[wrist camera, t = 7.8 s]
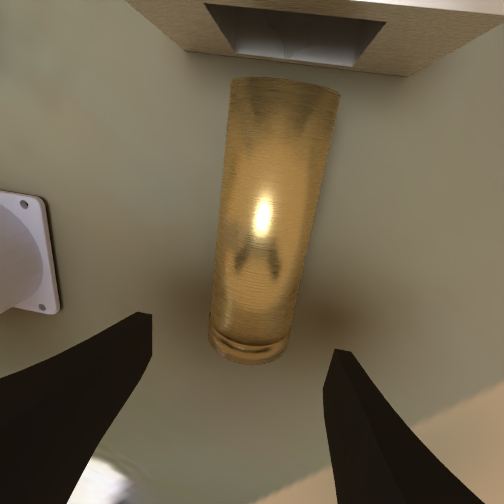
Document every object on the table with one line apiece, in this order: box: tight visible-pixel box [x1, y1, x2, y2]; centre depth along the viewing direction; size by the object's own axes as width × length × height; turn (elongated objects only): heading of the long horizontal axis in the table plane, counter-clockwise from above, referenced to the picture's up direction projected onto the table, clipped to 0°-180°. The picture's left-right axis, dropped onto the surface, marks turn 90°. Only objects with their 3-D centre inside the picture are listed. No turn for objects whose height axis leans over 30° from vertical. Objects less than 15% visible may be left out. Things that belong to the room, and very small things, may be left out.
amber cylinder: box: [208, 77, 341, 365], centre depth 13 cm, size 4×11×4 cm, turn 173°
